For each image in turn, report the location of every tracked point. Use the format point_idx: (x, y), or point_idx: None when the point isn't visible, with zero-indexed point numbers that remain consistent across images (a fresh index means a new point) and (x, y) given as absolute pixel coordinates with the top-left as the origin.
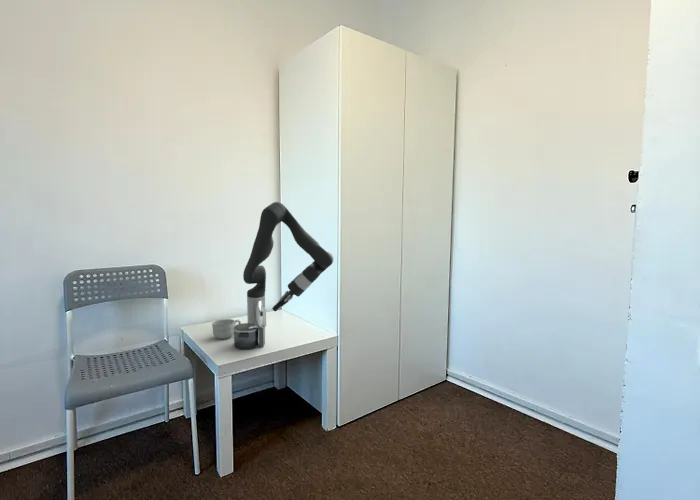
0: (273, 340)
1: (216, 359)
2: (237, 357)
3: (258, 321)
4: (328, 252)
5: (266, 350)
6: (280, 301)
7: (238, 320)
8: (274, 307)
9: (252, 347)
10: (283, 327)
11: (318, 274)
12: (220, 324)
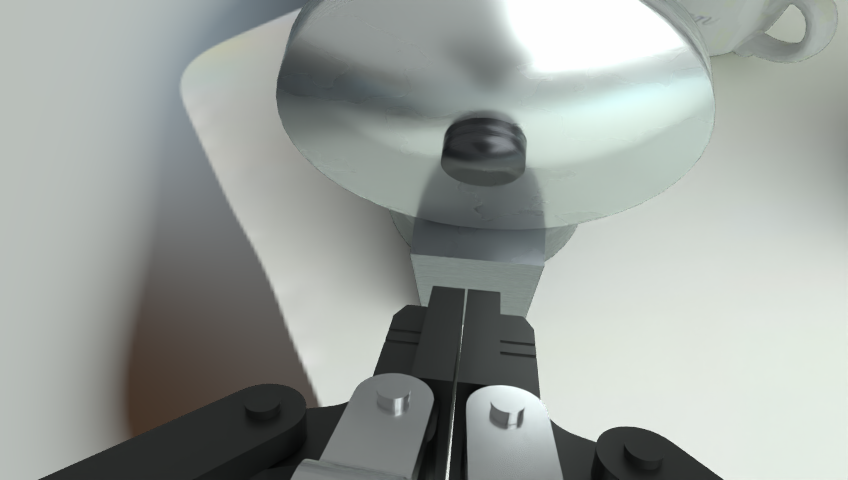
0: (599, 408)
1: (251, 38)
2: (251, 151)
3: (312, 156)
4: None
5: (348, 351)
6: (94, 462)
7: (811, 8)
8: (398, 323)
9: (401, 231)
10: None
11: None
12: None
